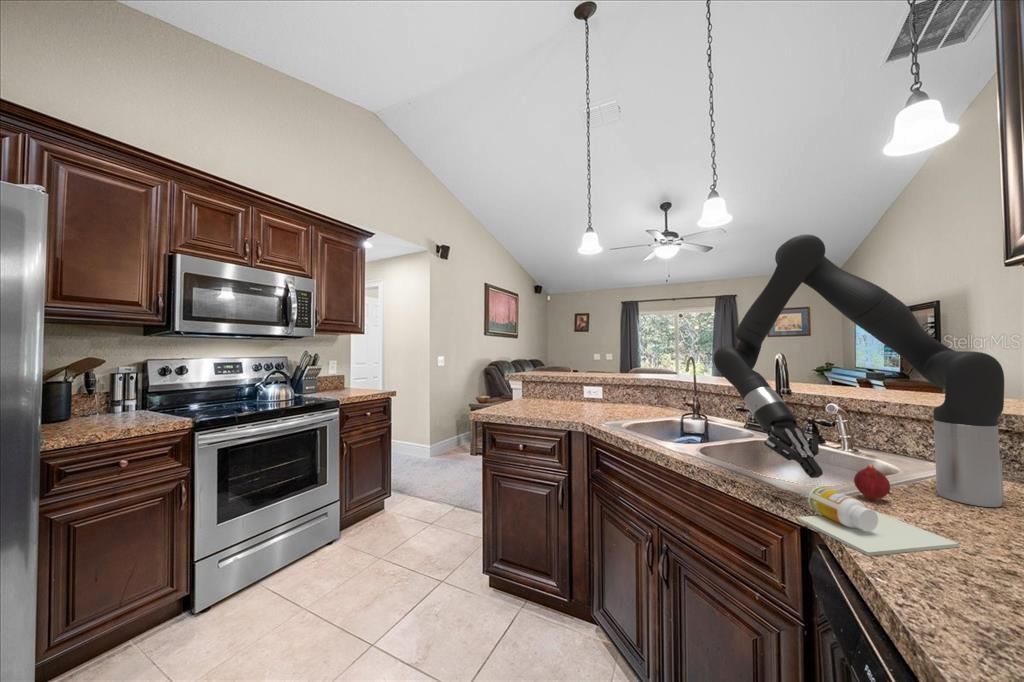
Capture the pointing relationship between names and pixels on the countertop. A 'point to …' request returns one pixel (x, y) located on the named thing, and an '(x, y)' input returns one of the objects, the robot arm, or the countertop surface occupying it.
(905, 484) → the countertop surface
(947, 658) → the countertop surface
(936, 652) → the countertop surface
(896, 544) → the mat
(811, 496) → the supplement bottle
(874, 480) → the onion
